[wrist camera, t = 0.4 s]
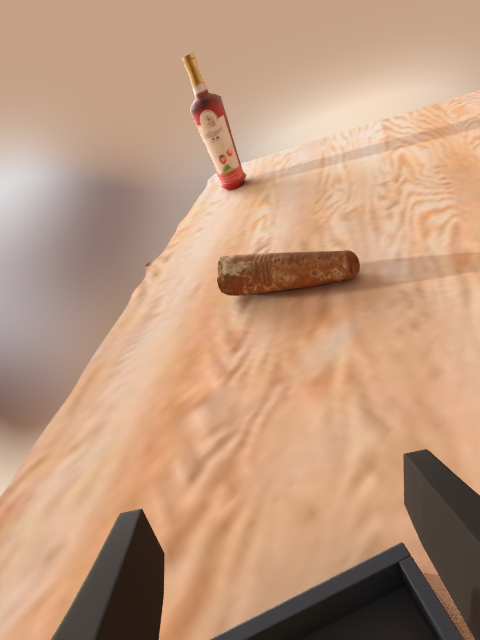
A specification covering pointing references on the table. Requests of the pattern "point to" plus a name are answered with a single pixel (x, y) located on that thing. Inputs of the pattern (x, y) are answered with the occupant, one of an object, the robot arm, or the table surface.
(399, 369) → the table surface
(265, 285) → the brown cylinder
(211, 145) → the liquor
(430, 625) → the bin
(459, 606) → the robot arm
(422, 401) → the table surface
